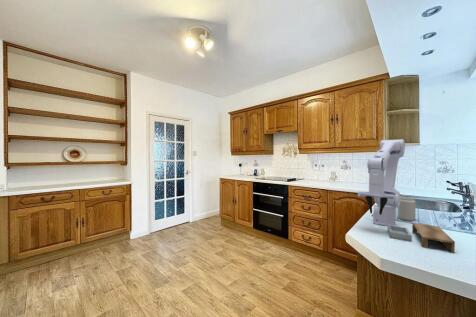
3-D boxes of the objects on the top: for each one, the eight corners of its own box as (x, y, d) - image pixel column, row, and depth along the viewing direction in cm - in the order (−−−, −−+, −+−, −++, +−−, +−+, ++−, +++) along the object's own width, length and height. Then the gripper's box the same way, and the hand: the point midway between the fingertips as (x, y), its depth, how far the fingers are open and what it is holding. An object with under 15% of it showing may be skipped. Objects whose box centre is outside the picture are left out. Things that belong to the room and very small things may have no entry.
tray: (390, 238, 86) (390, 231, 86) (387, 230, 95) (387, 224, 95) (411, 241, 82) (411, 235, 82) (406, 233, 91) (407, 227, 91)
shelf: (422, 247, 78) (422, 236, 78) (412, 231, 93) (412, 222, 93) (454, 253, 73) (454, 241, 73) (438, 236, 88) (438, 226, 88)
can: (416, 222, 106) (417, 199, 106) (398, 219, 110) (399, 197, 110) (413, 218, 112) (414, 197, 112) (396, 216, 116) (397, 195, 116)
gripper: (357, 183, 93) (357, 213, 93) (397, 186, 85) (397, 218, 86) (358, 181, 99) (357, 209, 99) (395, 184, 91) (394, 214, 92)
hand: (375, 213), depth 93 cm, fingers open, 3 cm apart
